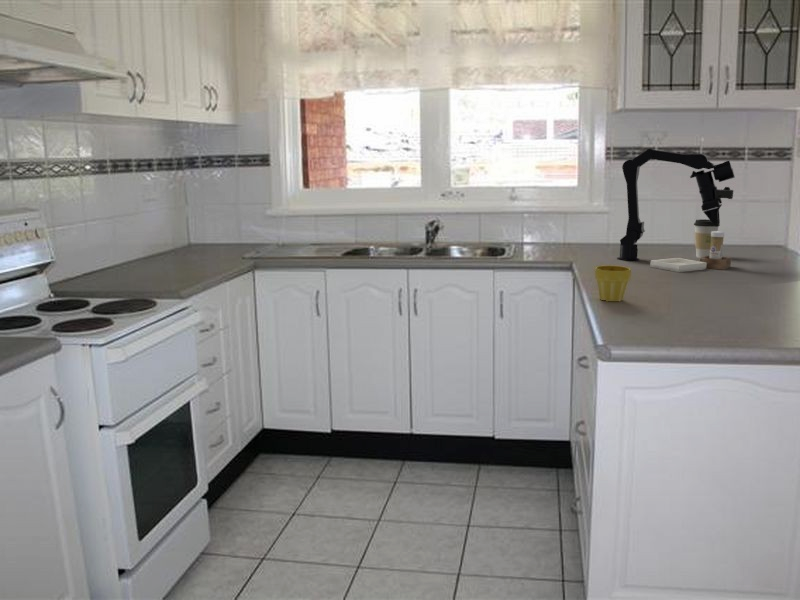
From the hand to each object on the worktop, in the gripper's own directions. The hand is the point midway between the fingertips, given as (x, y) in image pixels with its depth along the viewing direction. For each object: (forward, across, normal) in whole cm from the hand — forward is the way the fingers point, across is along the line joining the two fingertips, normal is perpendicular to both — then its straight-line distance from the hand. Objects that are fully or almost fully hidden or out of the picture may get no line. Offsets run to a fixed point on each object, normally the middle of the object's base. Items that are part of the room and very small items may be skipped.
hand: (717, 225), depth 295 cm
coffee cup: (+13, +19, +10) cm, 25 cm away
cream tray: (+10, -14, +16) cm, 24 cm away
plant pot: (+7, -84, +28) cm, 89 cm away
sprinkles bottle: (+15, -6, +4) cm, 17 cm away
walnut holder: (+14, -6, +4) cm, 16 cm away
